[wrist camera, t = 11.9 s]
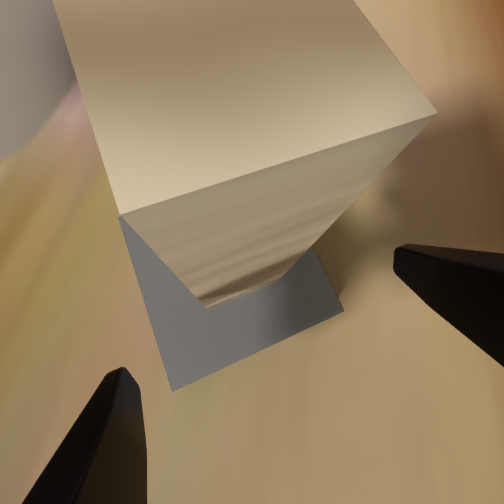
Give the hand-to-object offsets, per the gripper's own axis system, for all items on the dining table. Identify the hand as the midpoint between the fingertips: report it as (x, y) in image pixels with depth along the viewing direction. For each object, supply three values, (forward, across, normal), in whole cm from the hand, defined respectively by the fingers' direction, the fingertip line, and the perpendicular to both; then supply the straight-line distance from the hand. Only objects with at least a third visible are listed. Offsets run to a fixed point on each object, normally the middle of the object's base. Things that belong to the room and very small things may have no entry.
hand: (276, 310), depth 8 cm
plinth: (+10, 0, +4) cm, 11 cm away
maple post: (+8, 0, +3) cm, 9 cm away
